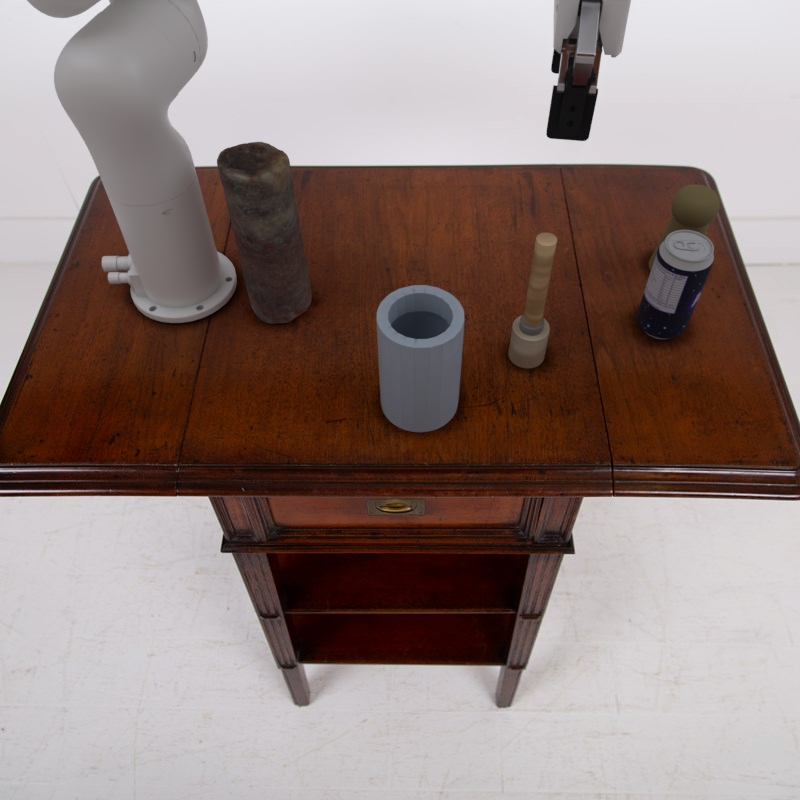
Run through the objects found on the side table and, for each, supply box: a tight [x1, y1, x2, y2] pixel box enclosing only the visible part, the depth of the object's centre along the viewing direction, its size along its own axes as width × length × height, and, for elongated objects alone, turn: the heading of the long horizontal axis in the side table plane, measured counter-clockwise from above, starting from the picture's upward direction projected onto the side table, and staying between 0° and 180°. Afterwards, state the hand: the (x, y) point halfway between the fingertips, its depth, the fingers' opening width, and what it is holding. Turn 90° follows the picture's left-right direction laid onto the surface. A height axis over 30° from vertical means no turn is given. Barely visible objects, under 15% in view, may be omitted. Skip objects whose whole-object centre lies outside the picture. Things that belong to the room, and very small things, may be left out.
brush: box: [507, 232, 558, 369], centre depth 78 cm, size 4×4×16 cm
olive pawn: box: [648, 183, 721, 271], centre depth 89 cm, size 6×6×11 cm
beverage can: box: [635, 230, 715, 340], centre depth 82 cm, size 6×6×12 cm
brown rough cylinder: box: [216, 141, 313, 325], centre depth 83 cm, size 8×7×20 cm
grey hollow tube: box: [376, 284, 466, 433], centre depth 76 cm, size 8×8×13 cm
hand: (568, 103), depth 61 cm, fingers open, 9 cm apart
